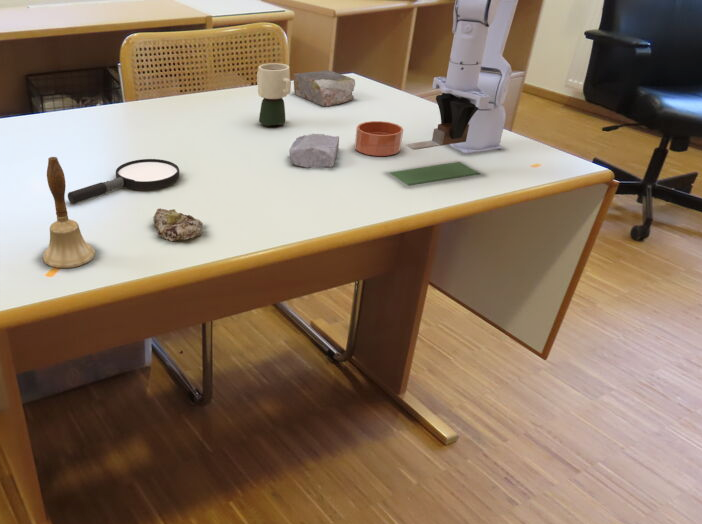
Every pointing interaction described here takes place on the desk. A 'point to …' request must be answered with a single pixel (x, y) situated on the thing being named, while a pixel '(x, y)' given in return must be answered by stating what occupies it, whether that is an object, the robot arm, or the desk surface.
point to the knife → (440, 137)
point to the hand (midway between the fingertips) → (451, 135)
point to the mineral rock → (176, 225)
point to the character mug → (273, 92)
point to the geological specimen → (324, 87)
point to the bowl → (378, 138)
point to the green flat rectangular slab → (434, 173)
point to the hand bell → (64, 227)
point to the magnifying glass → (132, 178)
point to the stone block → (314, 150)
